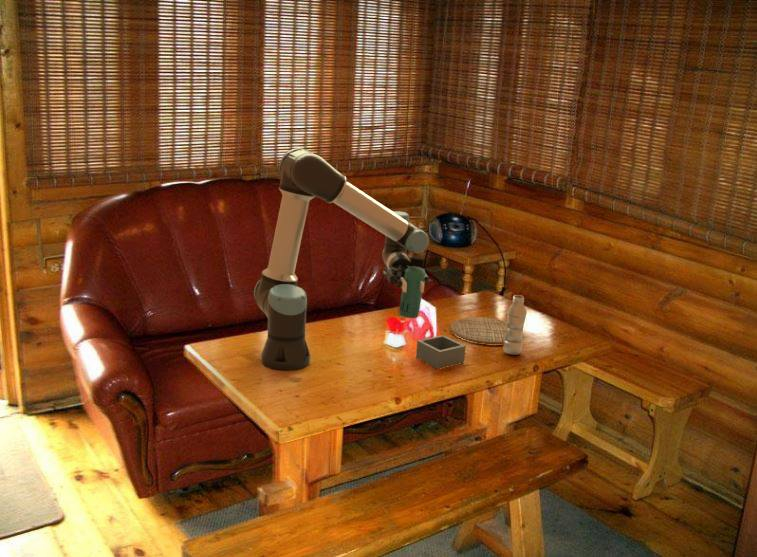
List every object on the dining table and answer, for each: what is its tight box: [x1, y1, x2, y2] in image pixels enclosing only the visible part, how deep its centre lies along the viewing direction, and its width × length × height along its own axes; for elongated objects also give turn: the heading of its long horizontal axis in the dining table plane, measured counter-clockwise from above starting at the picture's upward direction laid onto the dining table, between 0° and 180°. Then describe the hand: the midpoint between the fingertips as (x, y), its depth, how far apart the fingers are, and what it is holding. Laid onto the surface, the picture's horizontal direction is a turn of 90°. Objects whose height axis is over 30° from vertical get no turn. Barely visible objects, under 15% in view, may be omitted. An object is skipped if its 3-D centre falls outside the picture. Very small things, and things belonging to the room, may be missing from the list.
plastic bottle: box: [502, 294, 527, 356], centre depth 271 cm, size 6×7×20 cm
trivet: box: [450, 316, 507, 344], centre depth 292 cm, size 25×25×2 cm
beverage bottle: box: [397, 256, 427, 319], centre depth 250 cm, size 6×7×20 cm
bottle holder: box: [415, 334, 466, 370], centre depth 263 cm, size 11×11×6 cm
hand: (414, 287), depth 244 cm, fingers closed on beverage bottle, 5 cm apart
